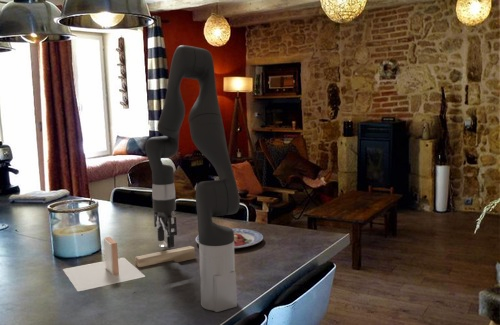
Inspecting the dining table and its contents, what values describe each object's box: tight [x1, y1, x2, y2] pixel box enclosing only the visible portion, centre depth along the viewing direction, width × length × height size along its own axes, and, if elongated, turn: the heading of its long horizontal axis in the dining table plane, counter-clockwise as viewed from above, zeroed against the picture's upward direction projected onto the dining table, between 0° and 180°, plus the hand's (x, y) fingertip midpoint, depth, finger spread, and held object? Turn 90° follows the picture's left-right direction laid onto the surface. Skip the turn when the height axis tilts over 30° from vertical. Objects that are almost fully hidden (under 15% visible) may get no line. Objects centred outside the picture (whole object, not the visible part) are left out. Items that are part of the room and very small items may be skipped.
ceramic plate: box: [195, 227, 264, 250], centre depth 182 cm, size 26×26×3 cm
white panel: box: [62, 256, 146, 292], centre depth 149 cm, size 22×20×1 cm
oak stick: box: [134, 245, 196, 268], centre depth 160 cm, size 3×20×4 cm, turn 123°
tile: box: [103, 236, 119, 275], centre depth 149 cm, size 8×2×10 cm, turn 32°
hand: (165, 243), depth 159 cm, fingers open, 8 cm apart
